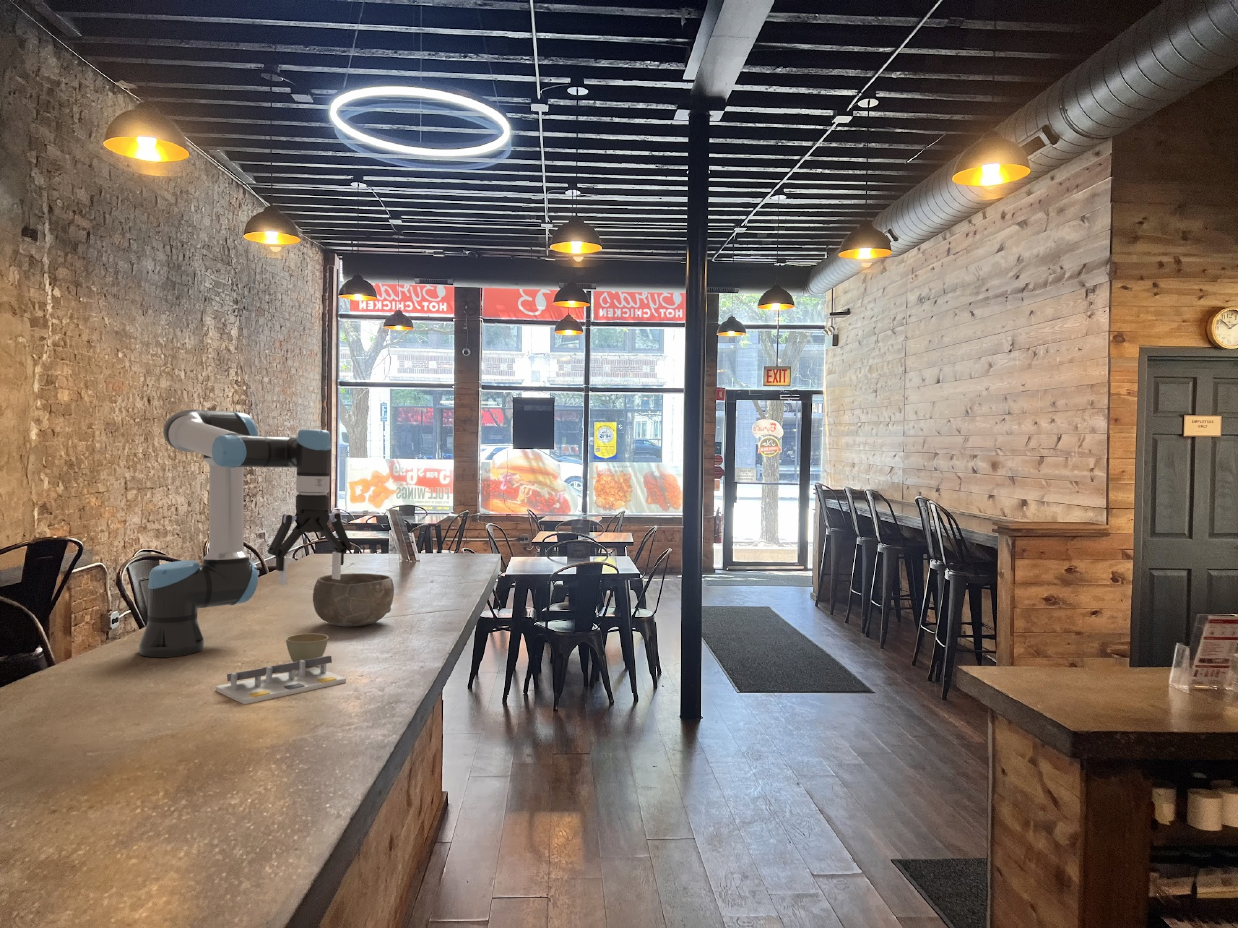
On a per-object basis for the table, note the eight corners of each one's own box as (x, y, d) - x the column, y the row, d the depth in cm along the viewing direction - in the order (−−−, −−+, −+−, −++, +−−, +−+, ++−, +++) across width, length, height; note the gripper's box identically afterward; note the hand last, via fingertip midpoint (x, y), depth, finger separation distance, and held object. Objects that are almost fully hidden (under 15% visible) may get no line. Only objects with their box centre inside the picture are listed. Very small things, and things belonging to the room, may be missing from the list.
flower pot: (313, 672, 198) (313, 643, 198) (276, 668, 200) (277, 640, 200) (335, 662, 207) (336, 634, 207) (300, 659, 209) (301, 631, 209)
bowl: (409, 624, 255) (411, 577, 255) (347, 637, 235) (348, 586, 235) (359, 614, 268) (360, 569, 268) (295, 626, 248) (296, 577, 248)
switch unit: (215, 690, 181) (216, 669, 181) (315, 670, 199) (315, 651, 199) (244, 704, 172) (244, 681, 171) (345, 682, 190) (346, 662, 190)
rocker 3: (294, 668, 193) (293, 661, 194) (311, 665, 197) (310, 658, 197) (315, 665, 187) (314, 658, 187) (332, 662, 190) (331, 655, 191)
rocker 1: (226, 681, 181) (226, 673, 181) (246, 677, 184) (245, 670, 185) (246, 678, 175) (246, 670, 175) (266, 674, 178) (265, 667, 178)
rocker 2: (261, 674, 187) (260, 667, 187) (279, 671, 190) (279, 664, 191) (282, 671, 181) (281, 664, 181) (300, 668, 184) (299, 660, 184)
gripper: (269, 495, 181) (267, 589, 181) (367, 493, 200) (364, 578, 200) (253, 493, 186) (251, 584, 186) (350, 492, 205) (348, 574, 205)
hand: (310, 581), depth 193 cm, fingers open, 13 cm apart
